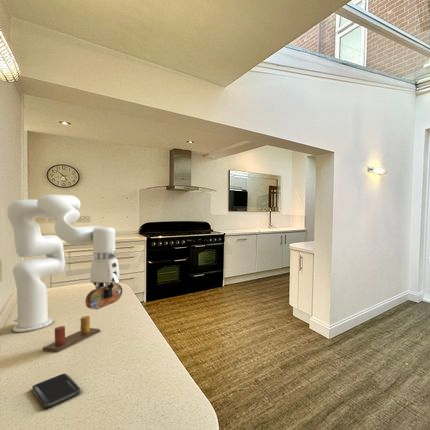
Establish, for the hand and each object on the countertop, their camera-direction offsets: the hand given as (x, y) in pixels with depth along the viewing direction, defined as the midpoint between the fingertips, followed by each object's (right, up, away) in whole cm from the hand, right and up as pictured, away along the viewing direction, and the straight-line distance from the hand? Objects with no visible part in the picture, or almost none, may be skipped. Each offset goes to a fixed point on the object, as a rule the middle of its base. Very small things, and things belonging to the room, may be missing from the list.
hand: (104, 297), depth 115 cm
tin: (0, -4, 0) cm, 4 cm away
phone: (+12, -19, -33) cm, 40 cm away
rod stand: (-11, -18, -3) cm, 21 cm away
